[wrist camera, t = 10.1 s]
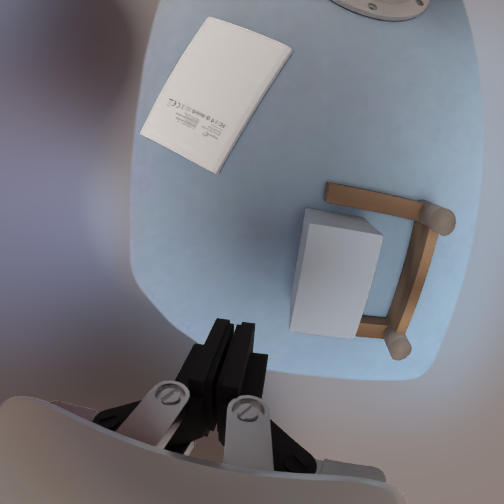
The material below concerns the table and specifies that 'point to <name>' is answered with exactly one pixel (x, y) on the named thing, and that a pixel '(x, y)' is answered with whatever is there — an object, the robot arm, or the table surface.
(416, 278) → the frame
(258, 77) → the external hard drive
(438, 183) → the table surface
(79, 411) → the robot arm
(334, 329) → the tall white block
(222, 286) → the table surface
